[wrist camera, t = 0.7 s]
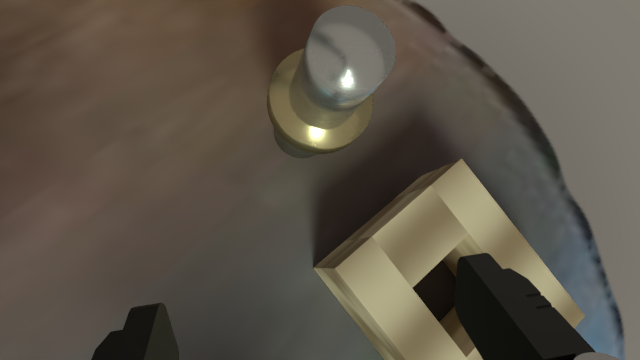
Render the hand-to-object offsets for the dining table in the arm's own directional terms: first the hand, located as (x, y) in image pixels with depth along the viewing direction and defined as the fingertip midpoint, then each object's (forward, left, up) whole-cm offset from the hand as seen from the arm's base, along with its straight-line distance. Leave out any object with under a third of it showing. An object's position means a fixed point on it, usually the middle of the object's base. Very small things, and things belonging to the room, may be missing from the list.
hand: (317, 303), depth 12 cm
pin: (-7, +10, -20) cm, 24 cm away
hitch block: (+9, +10, -20) cm, 25 cm away
